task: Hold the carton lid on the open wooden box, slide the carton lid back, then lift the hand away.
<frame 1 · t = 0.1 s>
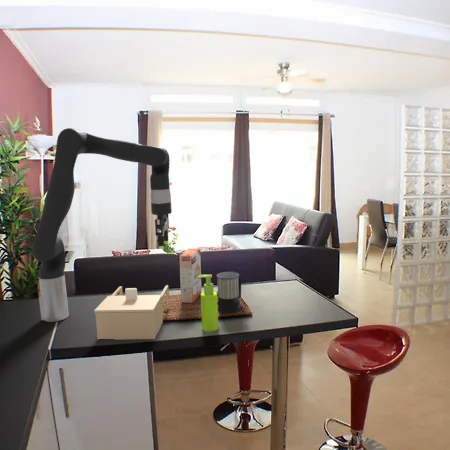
hand: (163, 243, 151), 29 cm above the worktop, tool pointing down, fingers open, 8 cm apart
carton lid: (129, 297, 141), point 12 cm above the worktop, slide at 0.0 cm
milk frother: (222, 307, 163), on the worktop
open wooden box: (131, 330, 143), on the worktop
cracker box: (192, 298, 175), on the worktop
soap dispenser: (208, 328, 143), on the worktop
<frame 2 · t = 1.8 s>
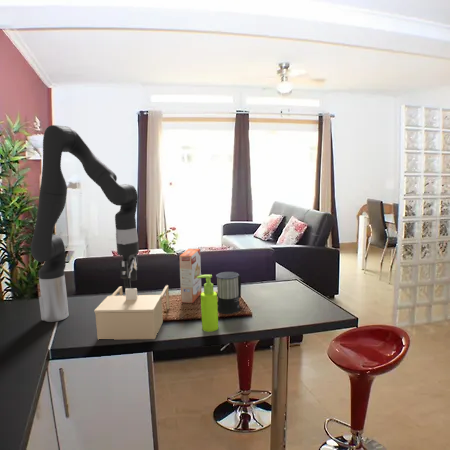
hand: (130, 284, 144), 17 cm above the worktop, tool pointing down, fingers open, 8 cm apart
nothing on the worktop moved.
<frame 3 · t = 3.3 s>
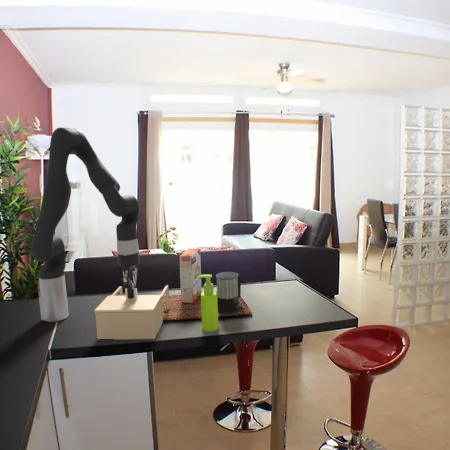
hand: (131, 297, 144), 12 cm above the worktop, tool pointing down, fingers closed
carton lid: (129, 297, 141), point 12 cm above the worktop, slide at 0.0 cm, touching gripper
everything else where it was.
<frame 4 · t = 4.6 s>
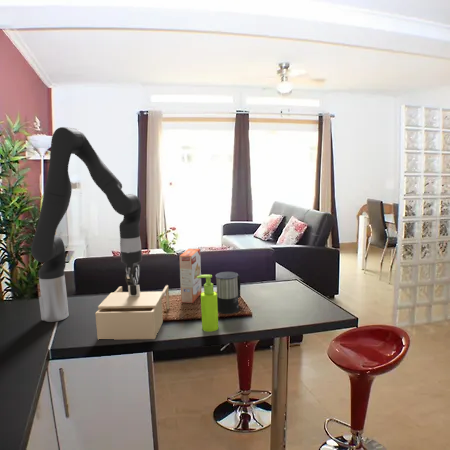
hand: (134, 293, 148), 12 cm above the worktop, tool pointing down, fingers closed
carton lid: (132, 294, 145), point 12 cm above the worktop, slide at 3.7 cm, touching gripper
everything else where it was.
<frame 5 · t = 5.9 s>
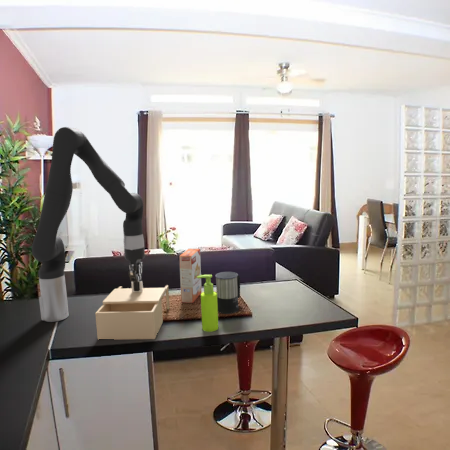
hand: (137, 289, 152), 12 cm above the worktop, tool pointing down, fingers closed
carton lid: (135, 290, 149), point 12 cm above the worktop, slide at 8.2 cm, touching gripper
everything else where it was.
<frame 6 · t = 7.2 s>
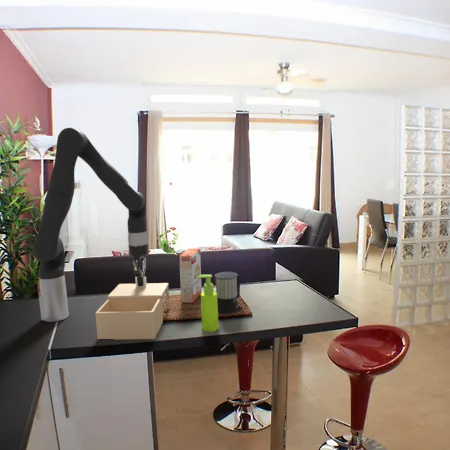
hand: (141, 285, 158), 12 cm above the worktop, tool pointing down, fingers closed
carton lid: (139, 285, 155), point 12 cm above the worktop, slide at 14.0 cm, touching gripper
everything else where it was.
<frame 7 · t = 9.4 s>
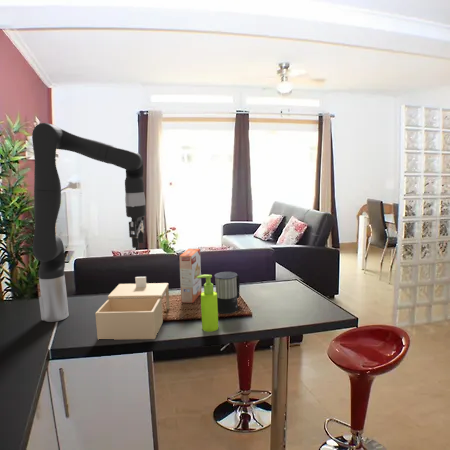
hand: (138, 245, 155), 28 cm above the worktop, tool pointing down, fingers open, 8 cm apart
carton lid: (139, 285, 155), point 12 cm above the worktop, slide at 14.0 cm
everything else where it was.
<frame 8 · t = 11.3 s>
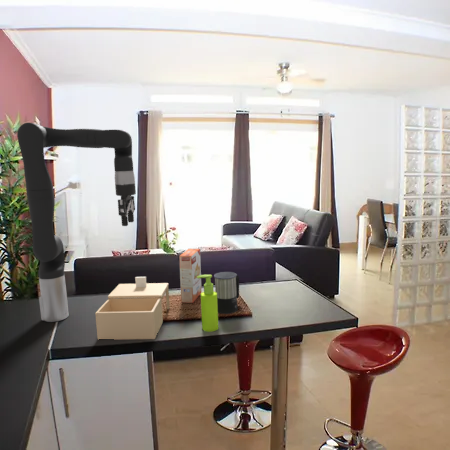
hand: (128, 224, 156), 36 cm above the worktop, tool pointing down, fingers open, 8 cm apart
nothing on the worktop moved.
at the end: carton lid slide at 14.0 cm; the gripper is holding nothing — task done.
